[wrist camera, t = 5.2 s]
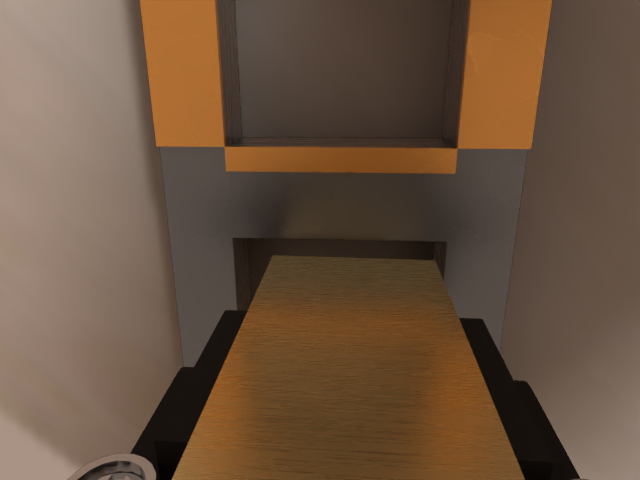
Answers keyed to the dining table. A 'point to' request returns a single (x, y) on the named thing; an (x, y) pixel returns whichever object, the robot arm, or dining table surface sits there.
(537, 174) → the dining table surface
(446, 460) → the brass nut
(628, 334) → the dining table surface
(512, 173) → the rail
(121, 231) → the dining table surface
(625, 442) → the dining table surface
